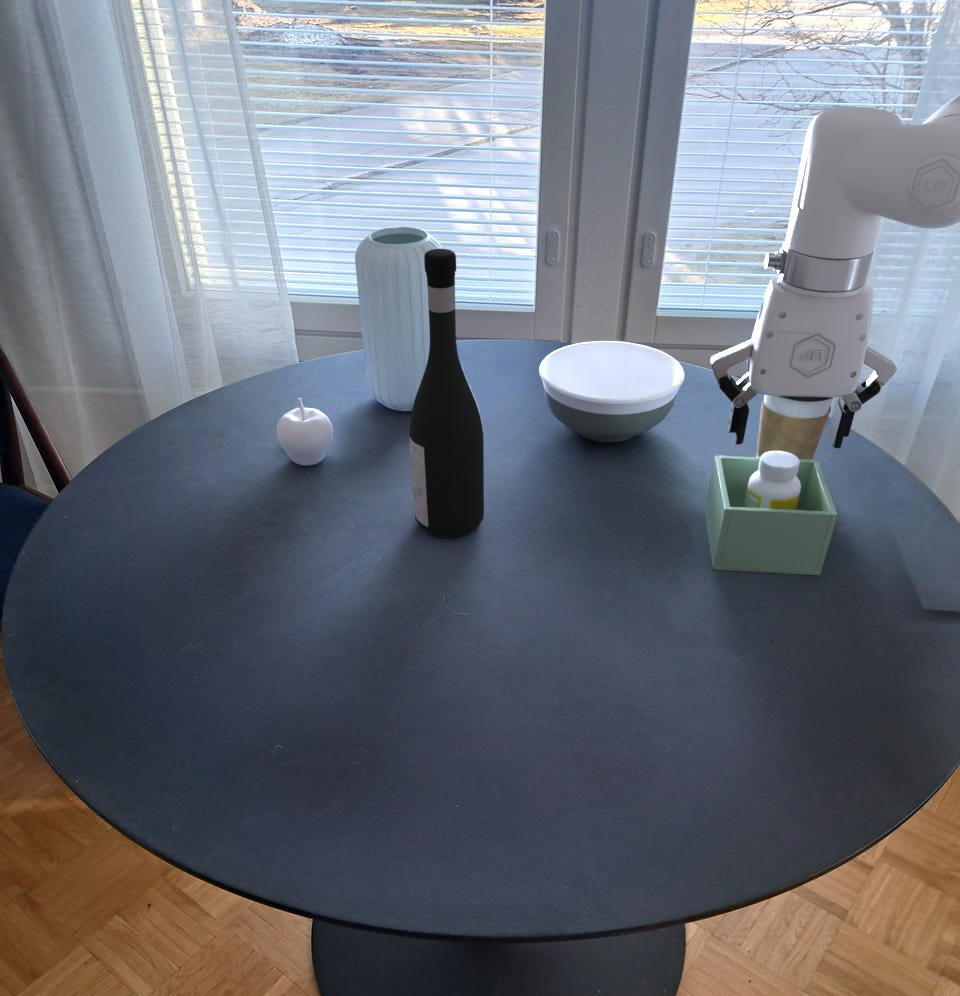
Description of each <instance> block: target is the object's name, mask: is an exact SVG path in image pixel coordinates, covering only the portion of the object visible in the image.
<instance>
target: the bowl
mask: <svg viewBox="0 0 960 996" xmlns="http://www.w3.org/2000/svg"><path fill="white" fill-rule="evenodd" d="M538 372H539V376H540V379H541V381H542V385H543V390H544V400H545V402H546V404H547V406H548V408H549V409H550V411H551V414H552V415H553V416H554V417H555V418H556V419H557V420H558V421H559V422H561V423H562V424H563V425H564V426H565V427H566V428H568V429H570V430H572V431H573V432H576V433H577V434H579V436H582V437H583V438H585V439H588V440H590V441H594V442H600V443H618V442H625V441H628V440H630V439H632V438H633V437H634V436H638V435H641V434H643V433H646V432H647V431H650V430H651V429H653V428H654V427H656V426H657V425H659V424H660V423H661V422H662V421H664V420H665V418H666V417H667V416H668V415H669V413H670V411H671V410H672V409H673V407H674V405H675V402H676V399H677V393H678V392H679V389H680V388H681V386H682V385H683V383H684V381H685V377H686V376H685V375H686V373H685V371H684V368H683V366H682V364H681V363H680V362H679V361H678V360H677V359H676V358H674V357H672V356H671V355H669V354H668V353H665V352H664V351H663V350H659V349H657V348H654V347H652V346H651V347H650V346H647V345H643V344H638V343H633V342H627V341H617V340H616V341H613V340H598V341H596V340H595V341H585V342H580V343H574V344H569V345H566V346H563V347H561V348H559V349H556V350H553V351H552V352H550V353H549V354H548V355H546V356H545V357H544V359H543V360H542V361H541V363H540V365H539V368H538Z"/></svg>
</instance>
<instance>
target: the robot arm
mask: <svg viewBox="0 0 960 996" xmlns="http://www.w3.org/2000/svg"><path fill="white" fill-rule="evenodd" d="M883 218H885V219H888V220H892V221H895V222H898V223H901V224H904V225H908V226H912V227H916V228H920V229H929V230H930V229H933V230H934V229H943V228H948V227H952V226H954V225H956V224H959V223H960V93H958V94H957V95H956V96H954V97H953V98H952V99H950V100H949V101H947V103H945V104H944V105H942V107H940V108H939V109H938V110H936V111H935V112H934V113H933V114H931V115H930V116H929V117H928V118H927V119H926V120H925V121H924V122H923V123H922V124H903V122H902V120H901V118H900V117H899V116H898V115H897V114H895V113H893V112H891V111H889V110H885V109H882V108H875V107H868V106H839V107H832V108H828V109H825V110H822V111H821V112H819V113H818V114H817V115H815V116H814V117H813V119H812V120H811V121H810V124H809V126H808V128H807V131H806V135H805V140H804V145H803V150H802V154H801V161H800V165H799V170H798V177H797V181H796V186H795V190H794V196H793V202H792V207H791V212H790V216H789V222H788V227H787V232H786V237H785V241H784V242H782V243H783V244H782V247H781V248H780V249H779V251H775V252H771V253H770V252H768V253H767V252H766V255H765V259H764V269H765V270H772V271H773V272H777V275H774V276H772V277H771V279H770V281H769V284H768V286H767V288H766V291H765V294H764V296H763V299H762V301H761V305H760V308H759V311H758V314H757V318H756V322H755V325H754V328H753V331H752V335H751V339H749V340H747V341H745V342H742V343H740V344H738V345H735V346H733V347H730V348H728V349H726V350H724V351H722V352H719V353H717V354H714V355H712V356H711V358H710V365H711V369H712V372H713V375H714V377H715V379H716V381H717V385H718V387H719V389H720V390H721V391H722V393H723V394H724V395H725V396H726V397H727V398H728V400H729V401H730V402H731V404H730V405H731V406H730V411H729V416H728V421H727V432H728V433H730V434H732V436H733V441H734V445H737V446H739V445H740V446H741V445H742V444H744V440H745V434H746V429H747V424H748V419H749V415H750V414H749V413H750V407H749V404H748V403H749V402H750V401H751V400H752V399H753V398H754V397H756V396H757V395H758V394H760V395H763V396H764V395H773V396H799V397H833V398H838V399H837V400H836V401H835V403H834V404H835V405H834V408H833V411H832V415H831V419H830V423H829V427H828V430H827V436H828V439H829V441H830V444H831V447H833V449H841V448H842V445H843V441H844V438H848V437H849V436H850V432H851V429H852V425H853V421H854V418H855V415H856V413H857V412H858V411H860V410H861V409H862V406H863V405H864V404H866V403H867V402H868V401H870V400H871V399H873V398H874V397H875V396H877V395H878V394H880V392H881V390H882V388H883V386H885V385H886V384H887V383H888V382H889V381H890V379H891V378H892V377H893V376H894V375H895V374H896V372H897V369H898V368H897V366H896V364H895V363H894V361H893V360H892V359H890V358H888V357H887V356H885V355H884V354H881V353H880V352H878V351H877V350H875V349H873V348H871V347H870V346H868V342H869V336H870V330H871V323H872V315H873V307H874V287H873V286H872V285H871V284H870V283H869V281H867V278H868V274H869V270H870V267H871V262H872V258H873V255H874V250H875V247H876V243H877V240H878V239H877V238H878V235H879V231H880V227H881V224H882V220H883ZM745 361H746V365H745V366H746V368H745V369H746V374H744V375H743V376H742V377H741V378H740V379H739V380H738V381H735V379H733V377H732V376H731V375H730V373H729V369H730V368H731V367H732V366H735V365H737V364H740V363H743V362H745ZM864 365H866V366H867V367H869V368H871V369H872V370H874V371H873V372H872V373H871V375H870V376H869V377H867V378H866V379H864V380H863V381H861V376H862V373H863V369H864ZM860 381H861V382H860Z"/></svg>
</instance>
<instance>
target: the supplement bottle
mask: <svg viewBox="0 0 960 996" xmlns="http://www.w3.org/2000/svg"><path fill="white" fill-rule="evenodd" d="M799 464H800V461H799V459H798V457H796V456H795V455H793V454H791V453H788V452H784V451H768V452H765V453H764V454H762V455H761V457H760V462H759V467H758V470H759V471H757V472H755V473H754V474H753V475H752V476H751V477H750V479H749V483H748V487H747V493H746V498H745V503H744V507H746V508H766V509H787V510H796V507H797V503H798V498H799V494H800V489H801V483H800V481H799V479H798V478H797V477H796V475H797V473H798V469H799Z"/></svg>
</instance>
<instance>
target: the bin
mask: <svg viewBox="0 0 960 996" xmlns="http://www.w3.org/2000/svg"><path fill="white" fill-rule="evenodd" d="M799 461H800V464H799V469H798V473H797V475H796V477H797V478H798V479H799V481H800V483H801V489H800V494H799V498H798V503H797V507H796V510H787V509H766V508H746V507H744V503H745V498H746V493H747V487H748V483H749V479H750V477H751V476H752V475H753V474H754V473H755V472H757V471H759V470H758V467H759V462H760V457H756V456H735V455H714V459H713V465H712V470H711V476H710V480H709V481H710V482H709V487H708V491H707V498H706V502H705V503H706V504H705V509H704V517H705V518H704V519H705V526H706V532H707V538H708V539H707V540H708V546H709V552H710V558H711V559H710V560H711V566H712V570H715V571H716V570H717V571H732V572H751V573H767V574H769V573H771V574H788V575H805V576H821V573H822V570H823V566H824V563H825V559H826V556H827V554H828V553H827V552H828V550H829V545H830V543H831V539H832V535H833V532H834V530H835V527H836V526H835V525H836V523H837V519H838V511H837V509H836V506H835V502H834V501H833V499H832V495H831V492H830V490H829V487H828V484H827V481H826V478H825V475H824V472H823V470H822V467H821V463H820V461H819V460H818V459H812V460H806V459H799Z"/></svg>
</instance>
